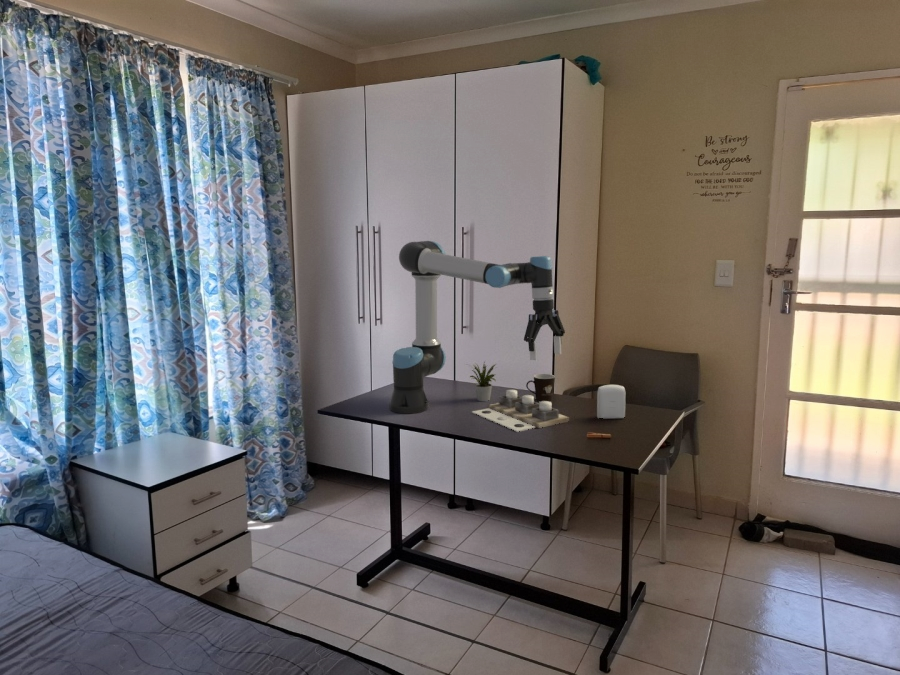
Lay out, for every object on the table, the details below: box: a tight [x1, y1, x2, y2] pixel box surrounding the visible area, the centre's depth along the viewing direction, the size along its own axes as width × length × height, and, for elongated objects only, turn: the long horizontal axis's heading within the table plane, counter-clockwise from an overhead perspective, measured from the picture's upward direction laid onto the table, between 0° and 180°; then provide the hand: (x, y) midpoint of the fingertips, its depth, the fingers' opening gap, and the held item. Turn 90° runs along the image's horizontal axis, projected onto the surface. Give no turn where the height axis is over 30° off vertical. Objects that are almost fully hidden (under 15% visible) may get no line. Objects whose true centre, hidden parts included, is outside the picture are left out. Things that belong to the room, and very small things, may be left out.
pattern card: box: [471, 407, 536, 433], centre depth 233 cm, size 28×8×1 cm, turn 32°
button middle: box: [521, 394, 535, 406], centre depth 238 cm, size 4×4×4 cm
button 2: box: [538, 401, 553, 412], centre depth 230 cm, size 4×4×4 cm
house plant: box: [464, 361, 498, 402], centre depth 258 cm, size 14×14×16 cm
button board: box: [489, 395, 570, 429], centre depth 239 cm, size 30×14×4 cm, turn 32°
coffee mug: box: [525, 373, 556, 403], centre depth 258 cm, size 12×9×10 cm
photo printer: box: [596, 384, 627, 419], centre depth 233 cm, size 10×4×12 cm, turn 89°
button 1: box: [505, 389, 518, 400], centre depth 246 cm, size 4×4×4 cm
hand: (546, 356), depth 232 cm, fingers open, 13 cm apart
